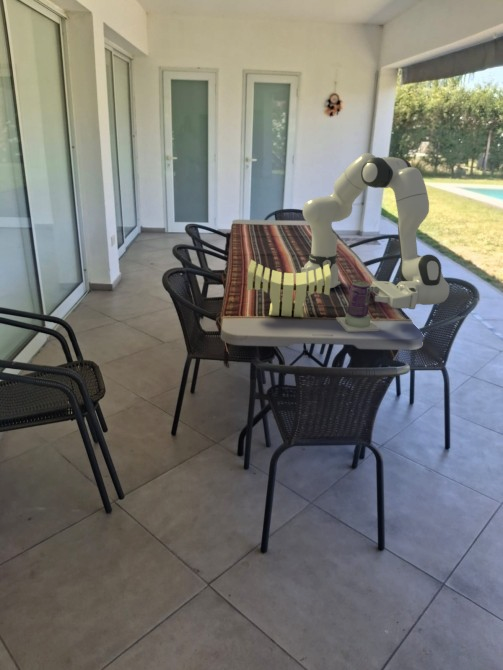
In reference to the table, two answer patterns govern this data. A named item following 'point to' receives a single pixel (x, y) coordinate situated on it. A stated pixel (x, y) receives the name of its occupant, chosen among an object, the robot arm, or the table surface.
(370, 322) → the pedestal stand
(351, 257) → the table surface
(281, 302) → the slatted curved stool
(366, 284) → the beverage can
